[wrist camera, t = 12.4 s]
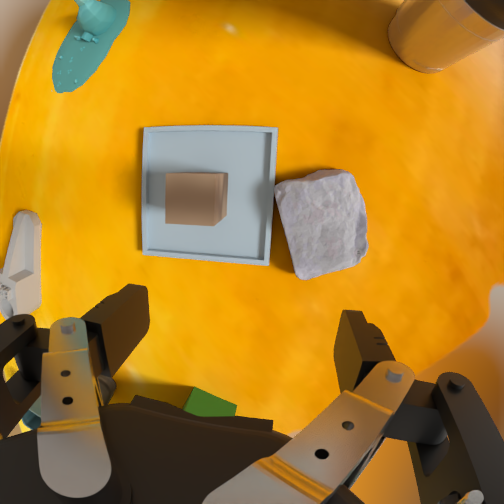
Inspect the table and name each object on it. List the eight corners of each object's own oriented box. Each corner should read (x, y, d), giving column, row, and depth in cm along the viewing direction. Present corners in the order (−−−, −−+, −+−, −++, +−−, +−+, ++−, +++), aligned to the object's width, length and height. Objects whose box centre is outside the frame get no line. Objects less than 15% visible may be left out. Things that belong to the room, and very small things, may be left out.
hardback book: (200, 454, 50) (169, 555, 26) (165, 439, 49) (124, 537, 26) (237, 405, 45) (208, 535, 22) (194, 386, 44) (143, 513, 21)
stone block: (342, 162, 36) (265, 184, 35) (358, 161, 31) (272, 185, 31) (362, 252, 39) (291, 276, 38) (379, 262, 34) (301, 290, 34)
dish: (148, 128, 35) (144, 127, 33) (277, 129, 33) (277, 127, 32) (147, 251, 39) (142, 254, 38) (269, 262, 38) (268, 265, 36)
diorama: (35, 88, 34) (-1, 81, 26) (101, -15, 29) (74, -36, 21) (77, 114, 35) (39, 108, 27) (153, -1, 30) (128, -29, 22)
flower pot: (36, 376, 50) (14, 399, 41) (67, 394, 50) (45, 420, 41) (43, 402, 52) (23, 424, 44) (72, 419, 52) (53, 444, 43)
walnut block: (187, 171, 35) (165, 173, 28) (228, 173, 35) (215, 174, 28) (186, 213, 37) (165, 223, 30) (226, 215, 36) (213, 226, 29)
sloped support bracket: (43, 215, 40) (8, 224, 32) (42, 312, 45) (15, 332, 37) (22, 207, 40) (-12, 216, 32) (23, 301, 45) (-5, 318, 37)
